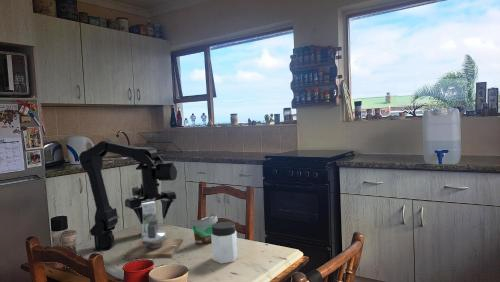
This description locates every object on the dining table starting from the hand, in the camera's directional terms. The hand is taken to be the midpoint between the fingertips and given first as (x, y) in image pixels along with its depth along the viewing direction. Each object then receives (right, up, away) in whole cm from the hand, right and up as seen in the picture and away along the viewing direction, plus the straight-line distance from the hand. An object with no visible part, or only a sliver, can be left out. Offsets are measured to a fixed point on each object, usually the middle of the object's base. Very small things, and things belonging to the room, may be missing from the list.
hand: (153, 221), depth 140 cm
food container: (+21, -10, +6) cm, 24 cm away
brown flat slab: (0, -11, +1) cm, 11 cm away
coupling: (0, -8, +1) cm, 8 cm away
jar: (+29, -11, -12) cm, 33 cm away
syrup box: (-7, -10, +21) cm, 25 cm away
